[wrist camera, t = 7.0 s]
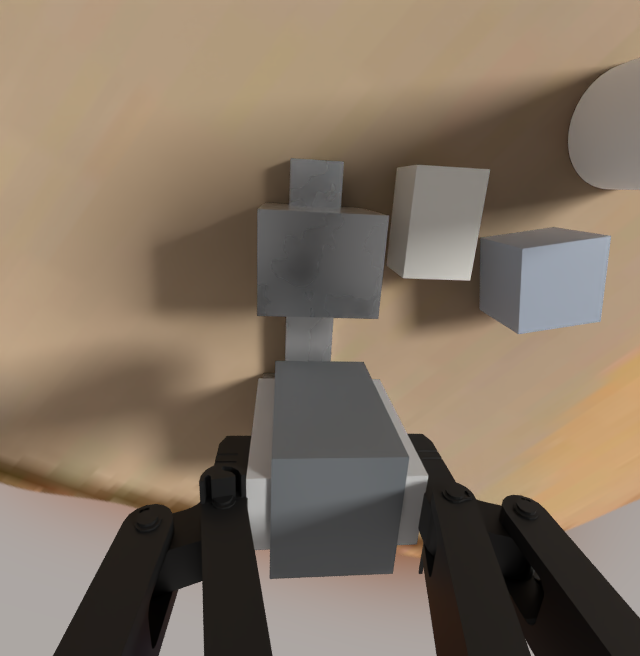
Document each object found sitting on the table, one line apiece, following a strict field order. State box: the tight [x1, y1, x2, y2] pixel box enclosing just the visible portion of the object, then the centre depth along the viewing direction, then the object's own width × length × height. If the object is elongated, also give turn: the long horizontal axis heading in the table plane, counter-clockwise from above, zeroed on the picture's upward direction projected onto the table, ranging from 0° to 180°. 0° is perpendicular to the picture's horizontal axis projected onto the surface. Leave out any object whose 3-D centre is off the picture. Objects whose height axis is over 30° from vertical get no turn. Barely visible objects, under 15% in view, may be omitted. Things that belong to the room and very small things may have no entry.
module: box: [270, 361, 409, 579], centre depth 16 cm, size 5×4×7 cm
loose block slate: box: [480, 227, 611, 334], centre depth 25 cm, size 5×5×5 cm
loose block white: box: [386, 165, 490, 281], centre depth 24 cm, size 6×4×4 cm, turn 177°
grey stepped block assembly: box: [257, 158, 389, 379], centre depth 24 cm, size 20×6×7 cm, turn 177°
